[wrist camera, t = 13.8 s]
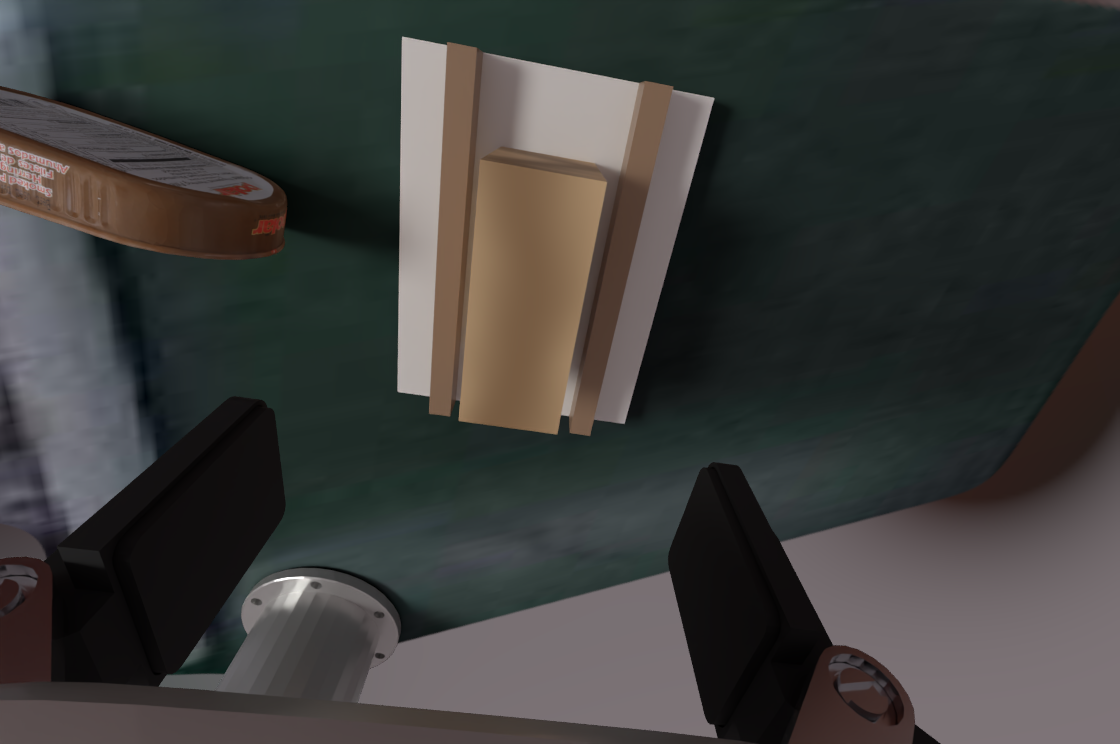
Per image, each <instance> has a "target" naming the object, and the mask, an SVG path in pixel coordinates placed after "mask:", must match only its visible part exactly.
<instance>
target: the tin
mask: <svg viewBox="0 0 1120 744" xmlns="http://www.w3.org/2000/svg"><path fill="white" fill-rule="evenodd" d="M0 205H3V206H6V207H9V208H12V209H15V210H18V211H21V212H24V213H28V214H31V215H34V216H37V217H40V218H43V219H46V220H49V221H52V222H55V223H58V224H61V225H65V226H68V227H71V228H74V229H76V230H79V231H82V232H85V233H88V234H91V235H94V236H97V237H100V238H104V239H107V240H110V241H113V242H117V243H120V244H124V245H128V246H132V247H137V248H141V249H146V250H151V251H156V252H161V253H167V254H175V255H181V256H188V257H197V258H206V259H230V260H242V259H253V258H261V257H267V256H271V255H273V254H276V253H278V252H279V251H281V250H282V249H283V247H284V245H285V240H284V237H283V235H284V228H285V221H286V213H287V198H286V195H285V193H284V191H283V190H282V189H281V188H280V187H279V186H278V185H277V184H276V183H274V182H273V181H271V180H270V179H268V178H266V177H264V176H262V175H260V174H258V173H256V172H253V171H251V170H249V169H246V168H244V167H241V166H239V165H236V164H233V163H231V162H228V161H225V160H222V159H220V158H217V157H214V156H212V155H209V154H206V153H204V152H201V151H198V150H196V149H193V148H190V147H187V146H185V145H182V144H179V143H177V142H174V141H171V140H169V139H166V138H163V137H160V136H158V135H155V134H152V133H149V132H147V131H144V130H141V129H138V128H135V127H132V126H130V125H127V124H124V123H121V122H118V121H115V120H113V119H110V118H107V117H104V116H101V115H98V114H96V113H93V112H90V111H87V110H84V109H81V108H78V107H75V106H71V105H68V104H65V103H62V102H58V101H55V100H51V99H48V98H45V97H41V96H37V95H34V94H30V93H27V92H23V91H19V90H15V89H10V88H6V87H2V86H0Z"/></svg>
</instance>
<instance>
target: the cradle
mask: <svg viewBox="0 0 1120 744" xmlns="http://www.w3.org/2000/svg"><path fill="white" fill-rule="evenodd" d="M713 101H714V98H712V97H706V96H701V95H696V94H691V93H686V92H681V91H676V90H673V86H668V85H662V84H657V83H652V82H647V81H644V82H641V83H635V82H630V81H625V80H620V79H615V78H610V77H605V76H600V75H595V74H590V73H584V72H579V71H574V70H569V69H564V68H559V67H554V66H549V65H544V64H539V63H534V62H529V61H523V60H518V59H513V58H508V57H503V56H498V55H493V54H488V53H483V52H482V51H480V50H479V49H478V48H475V47H470V46H465V45H460V44H455V43H450V42H447V45H442V44H437V43H432V42H427V41H422V40H417V39H412V38H407V37H402V85H401V165H400V245H399V324H398V392H403V393H410V394H417V395H424V396H430V404H429V414H437V415H444V416H450V415H451V412H452V409H453V407H454V404H455V401H456V400H459V401H460V398H461V386H462V374H463V361H464V349H465V337H466V325H467V312H468V300H469V288H470V276H471V263H472V251H473V239H474V227H475V214H476V202H477V190H478V178H479V165H480V159H481V158H483V157H485V156H486V155H488V154H490V153H491V152H493V151H495V150H496V149H498V148H500V147H501V146H502V147H508V148H513V149H519V150H524V151H530V152H536V153H541V154H547V155H552V156H558V157H563V158H569V159H574V160H580V161H585V162H591V163H595V164H596V166H597V167H598V169H599V170H600V172H601V173H602V175H603V176H604V178H605V179H606V181H607V185H606V191H605V196H604V201H603V206H602V211H601V216H600V221H599V226H598V231H597V236H596V241H595V246H594V251H593V256H592V261H591V266H590V271H589V276H588V281H587V286H586V291H585V296H584V301H583V306H582V311H581V316H580V321H579V327H578V332H577V337H576V342H575V347H574V352H573V357H572V362H571V367H570V372H569V377H568V382H567V387H566V392H565V397H564V402H563V407H562V412H561V415H566V416H569V423H570V433H574V434H581V435H588V436H590V433H591V429H592V425H593V421H594V420H601V421H608V422H615V423H622V424H625V420H626V416H627V413H628V409H629V406H630V402H631V398H632V395H633V391H634V387H635V384H636V380H637V377H638V373H639V369H640V366H641V362H642V358H643V355H644V351H645V348H646V344H647V340H648V337H649V333H650V330H651V326H652V322H653V319H654V315H655V311H656V308H657V304H658V301H659V297H660V293H661V290H662V286H663V282H664V279H665V275H666V272H667V268H668V264H669V261H670V257H671V253H672V250H673V246H674V243H675V239H676V235H677V232H678V228H679V224H680V221H681V217H682V214H683V210H684V206H685V203H686V199H687V195H688V192H689V188H690V185H691V181H692V177H693V174H694V170H695V166H696V163H697V159H698V156H699V152H700V148H701V145H702V141H703V138H704V134H705V130H706V127H707V123H708V119H709V116H710V112H711V109H712V105H713Z"/></svg>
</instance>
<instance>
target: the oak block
mask: <svg viewBox="0 0 1120 744" xmlns="http://www.w3.org/2000/svg"><path fill="white" fill-rule="evenodd" d="M606 185H607V181H606V179H605V178H604V176H603V175H602V173H601V172H600V170H599V169H598V167H597V166H596V164H595V163H591V162H585V161H580V160H574V159H569V158H563V157H558V156H552V155H547V154H541V153H536V152H530V151H524V150H519V149H513V148H508V147H502V146H501V147H500V148H498V149H496V150H495V151H493V152H491V153H490V154H488V155H486V156H485V157H483V158H481V159H480V165H479V178H478V190H477V202H476V214H475V227H474V239H473V251H472V263H471V276H470V288H469V300H468V312H467V325H466V337H465V349H464V361H463V374H462V386H461V398H460V410H459V421H463V422H471V423H478V424H485V425H493V426H500V427H507V428H515V429H522V430H529V431H537V432H544V433H551V434H557V432H558V427H559V422H560V417H561V412H562V407H563V402H564V397H565V392H566V387H567V382H568V377H569V372H570V367H571V362H572V357H573V352H574V347H575V342H576V337H577V332H578V327H579V321H580V316H581V311H582V306H583V301H584V296H585V291H586V286H587V281H588V276H589V271H590V266H591V261H592V256H593V251H594V246H595V241H596V236H597V231H598V226H599V221H600V216H601V211H602V206H603V201H604V196H605V191H606Z"/></svg>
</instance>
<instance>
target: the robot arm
mask: <svg viewBox="0 0 1120 744" xmlns="http://www.w3.org/2000/svg"><path fill="white" fill-rule="evenodd" d="M284 511H285V495H284V486H283V478H282V470H281V462H280V454H279V446H278V437H277V429H276V421H275V414H274V411H273V409H271V408H267V405H266V403H265V402H264V401H262V400H258V399H251V398H243V397H236V396H234V397H230V398H229V399H227V400H226V401H225V402H224V403H223V404H221V405H220V406H219V407H218V408H217V409H216V410H214V411H213V412H212V413H211V414H210V415H209V416H207V417H206V418H205V419H204V420H203V421H202V422H201V423H199V424H198V425H197V426H196V427H195V428H194V429H192V430H191V431H190V432H189V433H188V434H187V435H185V436H184V437H183V438H182V439H181V440H180V441H178V442H177V443H176V444H175V445H174V446H173V447H172V448H170V449H169V450H168V451H167V452H166V453H165V454H163V455H162V456H161V457H160V458H159V459H158V460H156V461H155V462H154V463H153V464H152V465H151V466H150V467H148V468H147V469H146V470H145V471H144V472H143V473H141V474H140V475H139V476H138V477H137V478H136V479H134V480H133V481H132V482H131V483H130V484H129V485H128V486H126V487H125V488H124V489H123V490H122V491H121V492H119V493H118V494H117V495H116V496H115V497H114V498H112V499H111V500H110V501H109V502H108V503H107V504H106V505H104V506H103V507H102V508H101V509H100V510H99V511H97V512H96V513H95V514H94V515H93V516H92V517H90V518H89V519H88V520H87V521H86V522H85V523H83V524H82V525H81V526H80V527H79V528H78V529H77V530H75V531H74V532H73V533H72V534H71V535H70V536H68V537H67V538H66V539H65V540H64V541H63V542H61V543H60V544H59V545H58V546H57V548H58V549H57V550H56V551H55V552H54V553H53V554H52V555H50V556H49V557H48V558H47V559H46V560H45V561H42V560H41V559H37V558H32V557H27V556H24V557H6V558H2V559H0V744H940V743H938V741H936V740H935V739H934V738H932V737H931V736H929V735H928V734H927V733H926V732H924V731H923V730H922V729H920V728H919V727H918V726H917V725H915V715H914V708H913V706H912V703H911V701H910V698H909V696H908V694H907V693H906V691H905V690H904V688H903V687H902V685H901V684H900V682H899V681H898V680H897V679H896V678H895V676H894V675H893V674H891V672H889V670H888V669H887V668H886V667H885V666H883V665H882V664H881V663H879V662H878V661H877V660H876V659H874V658H873V657H871V656H869V655H868V654H866V653H864V652H862V651H860V650H858V649H855V648H851V647H848V646H842V645H841V646H840V645H833V644H832V642H831V640H830V639H829V637H828V635H827V633H826V631H825V629H824V627H823V625H822V623H821V621H820V619H819V617H818V615H817V613H816V611H815V609H814V607H813V605H812V604H811V602H810V600H809V598H808V596H807V594H806V592H805V590H804V588H803V586H802V584H801V582H800V580H799V578H798V576H797V575H796V572H795V571H794V569H793V567H792V565H791V563H790V561H789V559H788V557H787V555H786V553H785V551H784V549H783V547H782V545H781V543H780V541H779V539H778V538H777V536H776V535H775V533H774V532H773V531H772V529H771V527H770V525H769V523H768V521H767V519H766V517H765V515H764V513H763V511H762V509H761V508H760V506H759V504H758V502H757V500H756V498H755V496H754V494H753V492H752V490H751V488H750V486H749V484H748V482H747V480H746V478H745V476H744V474H743V472H742V470H741V469H740V467H739V466H737V465H730V464H723V463H715V462H713V463H711V464H710V465H709V466H708V468H705V467H704V468H702V469H701V470H700V472H699V475H698V477H697V480H696V483H695V485H694V488H693V490H692V493H691V496H690V498H689V501H688V503H687V506H686V509H685V511H684V514H683V516H682V519H681V522H680V524H679V527H678V529H677V532H676V535H675V537H674V540H673V542H672V545H671V548H670V551H669V556H668V565H669V570H670V574H671V578H672V582H673V586H674V590H675V595H676V599H677V603H678V607H679V611H680V616H681V619H682V624H683V628H684V632H685V636H686V640H687V644H688V649H689V653H690V657H691V661H692V665H693V669H694V673H695V677H696V682H697V685H698V690H699V694H700V698H701V702H702V706H703V711H704V714H705V717H706V720H707V722H708V723H709V724H714V725H715V729H716V733H717V737H718V738H710V737H702V736H693V735H685V734H676V733H668V732H659V731H648V730H639V729H629V728H618V727H608V726H597V725H587V724H576V723H567V722H556V721H546V720H535V719H525V718H514V717H503V716H492V715H482V714H471V713H460V712H450V711H439V710H427V709H417V708H406V707H394V706H383V705H372V704H361V703H358V701H359V698H360V694H361V692H362V689H363V686H364V683H365V680H366V677H367V674H368V671H369V669H371V668H373V667H376V666H378V665H379V664H381V663H383V662H384V661H386V660H387V659H388V658H389V657H390V656H391V655H392V653H393V652H394V650H395V648H396V646H397V644H398V640H399V637H400V634H401V621H400V618H399V614H398V612H397V611H396V609H395V607H394V605H393V604H392V603H391V602H390V601H389V600H388V599H387V597H386V596H385V595H384V594H382V593H381V592H380V591H379V590H377V589H376V588H375V587H373V586H371V585H370V584H368V583H366V582H364V581H363V580H361V579H358V578H356V577H353V576H351V575H348V574H345V573H341V572H337V571H334V570H328V569H321V568H296V569H288V570H284V571H280V572H277V573H274V574H272V575H270V576H268V577H266V578H264V579H262V580H261V581H260V582H259V583H257V584H256V585H255V586H254V588H253V589H252V590H251V592H250V593H249V595H248V596H247V598H246V599H245V602H244V604H243V606H242V612H241V618H242V622H243V626H244V628H245V630H246V632H247V634H248V636H247V637H246V639H245V641H244V642H243V644H242V646H241V647H240V649H239V651H238V652H237V654H236V656H235V657H234V659H233V661H232V662H231V664H230V666H229V667H228V669H227V671H226V673H225V674H224V676H223V678H222V679H221V681H220V683H219V684H218V686H217V688H216V690H215V691H209V690H198V689H183V688H169V687H158V686H159V685H160V683H161V682H162V681H163V679H164V678H165V676H166V675H167V674H173V673H175V672H176V671H177V670H178V669H179V668H180V667H181V666H182V665H183V663H184V662H185V660H186V659H187V657H188V656H189V654H190V653H191V652H192V650H193V649H194V647H195V646H196V644H197V643H198V641H199V640H200V638H201V637H202V635H203V634H204V633H205V631H206V630H207V628H208V627H209V625H210V624H211V622H212V621H213V619H214V618H215V616H216V615H217V613H218V612H219V611H220V609H221V608H222V606H223V605H224V603H225V602H226V600H227V599H228V597H229V596H230V594H231V593H232V591H233V590H234V589H235V587H236V586H237V584H238V583H239V581H240V580H241V578H242V577H243V575H244V574H245V572H246V571H247V569H248V568H249V567H250V565H251V564H252V562H253V561H254V559H255V558H256V556H257V555H258V553H259V552H260V550H261V549H262V548H263V546H264V545H265V543H266V542H267V540H268V539H269V537H270V536H271V534H272V533H273V531H274V530H275V528H276V527H277V526H278V524H279V523H280V521H281V519H282V517H283V515H284Z"/></svg>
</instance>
